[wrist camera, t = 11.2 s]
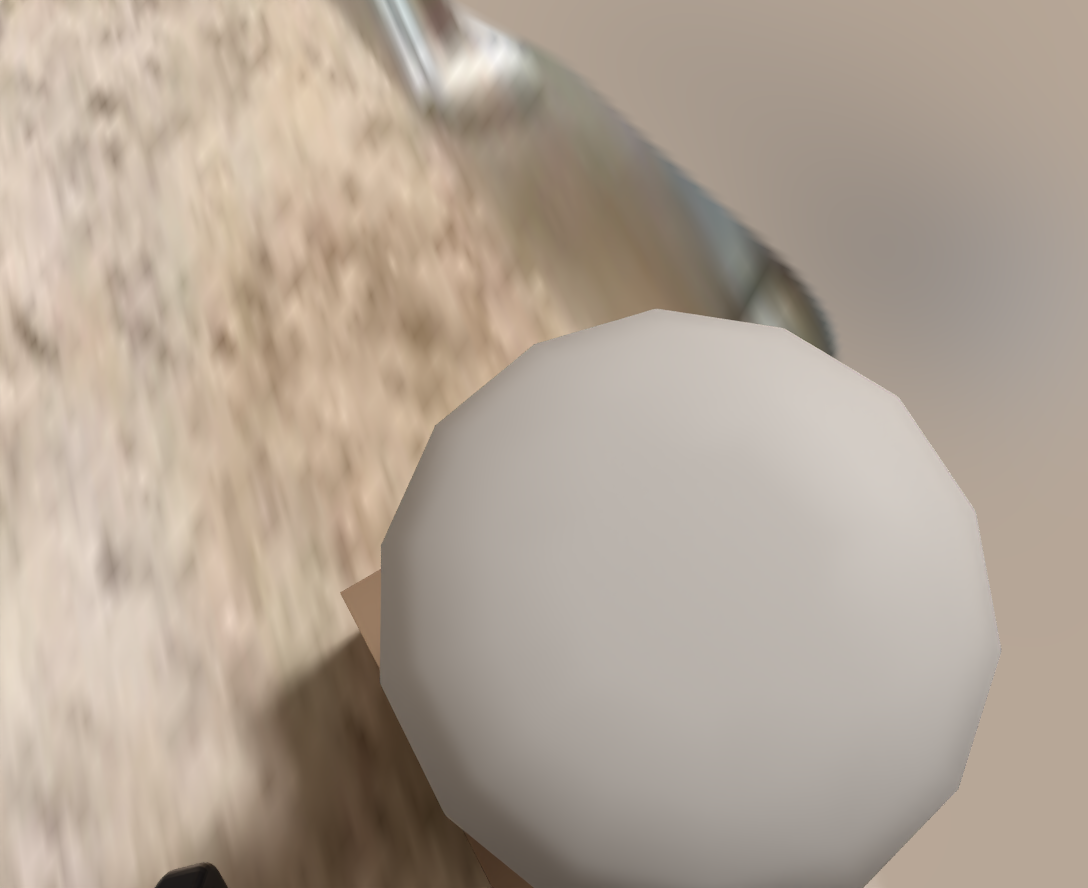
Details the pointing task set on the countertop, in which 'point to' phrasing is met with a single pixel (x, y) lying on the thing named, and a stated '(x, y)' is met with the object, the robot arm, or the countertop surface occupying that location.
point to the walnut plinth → (367, 616)
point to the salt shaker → (686, 613)
